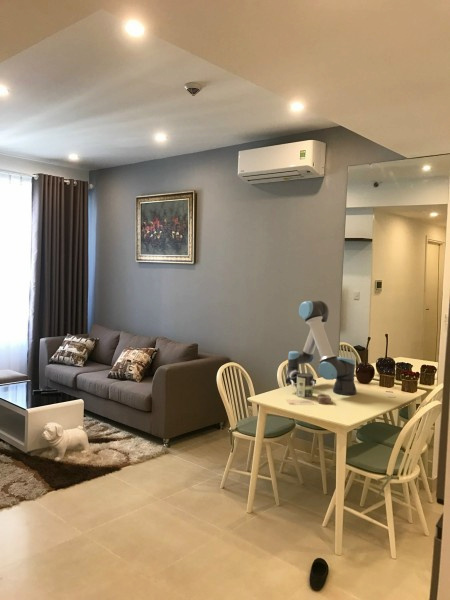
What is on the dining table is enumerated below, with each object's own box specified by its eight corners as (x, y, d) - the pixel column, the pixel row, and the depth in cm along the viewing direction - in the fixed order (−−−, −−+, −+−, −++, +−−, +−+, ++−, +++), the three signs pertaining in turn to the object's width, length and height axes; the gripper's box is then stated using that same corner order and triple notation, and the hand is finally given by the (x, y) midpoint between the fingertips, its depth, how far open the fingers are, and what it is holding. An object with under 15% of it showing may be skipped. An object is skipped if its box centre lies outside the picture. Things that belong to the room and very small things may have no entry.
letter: (310, 400, 299) (310, 399, 299) (315, 405, 288) (315, 404, 288) (285, 400, 298) (285, 399, 298) (289, 405, 287) (289, 404, 287)
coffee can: (312, 395, 312) (313, 373, 311) (312, 399, 301) (313, 376, 301) (296, 394, 314) (297, 372, 313) (295, 398, 303) (296, 375, 303)
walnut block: (328, 401, 298) (329, 395, 297) (330, 404, 291) (331, 398, 290) (317, 401, 298) (317, 394, 298) (319, 404, 291) (319, 397, 291)
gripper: (278, 371, 329) (284, 378, 308) (314, 371, 331) (323, 378, 310) (277, 382, 329) (284, 390, 308) (313, 382, 331) (322, 390, 310)
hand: (303, 384), depth 309 cm, fingers open, 13 cm apart
